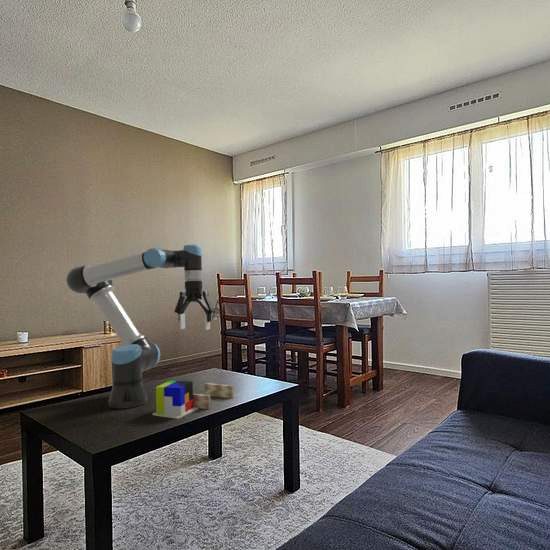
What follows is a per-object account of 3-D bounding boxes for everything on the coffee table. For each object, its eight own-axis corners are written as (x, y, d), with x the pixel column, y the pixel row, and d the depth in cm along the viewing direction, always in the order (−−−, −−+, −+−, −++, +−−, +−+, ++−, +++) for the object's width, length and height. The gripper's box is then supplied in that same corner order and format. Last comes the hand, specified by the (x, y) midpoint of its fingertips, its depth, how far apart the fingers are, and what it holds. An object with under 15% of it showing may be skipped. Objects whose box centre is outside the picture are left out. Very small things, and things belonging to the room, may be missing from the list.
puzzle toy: (181, 415, 151) (180, 388, 151) (156, 414, 154) (155, 387, 154) (193, 407, 161) (192, 381, 161) (170, 406, 164) (169, 380, 164)
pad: (152, 415, 155) (152, 413, 155) (174, 406, 166) (174, 404, 166) (177, 418, 149) (177, 417, 149) (198, 409, 160) (198, 407, 160)
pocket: (180, 405, 166) (180, 393, 166) (206, 394, 181) (206, 382, 181) (208, 409, 159) (208, 396, 160) (233, 397, 175) (233, 385, 175)
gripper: (165, 281, 183) (167, 329, 183) (211, 279, 172) (213, 330, 172) (176, 281, 190) (178, 327, 190) (222, 279, 179) (223, 328, 178)
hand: (195, 329), depth 181 cm, fingers open, 13 cm apart
